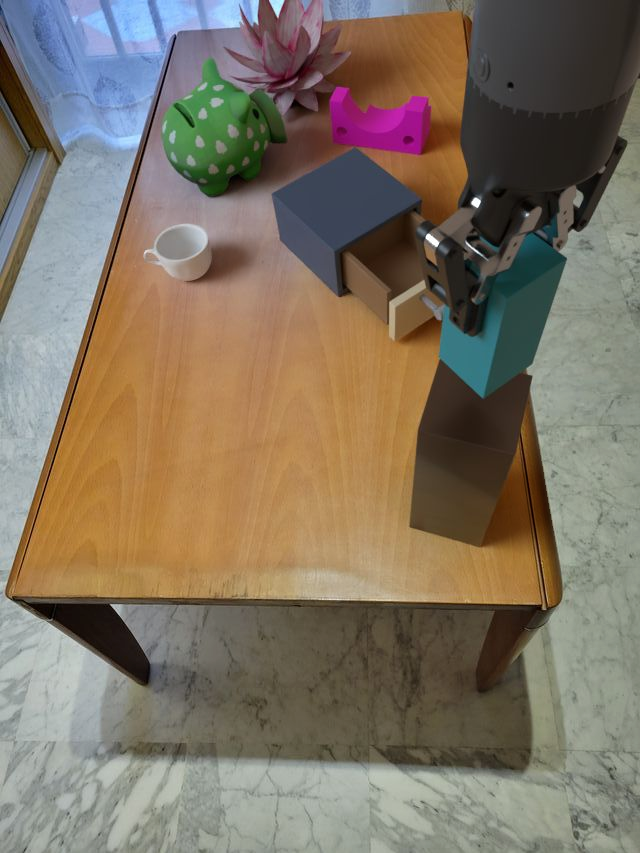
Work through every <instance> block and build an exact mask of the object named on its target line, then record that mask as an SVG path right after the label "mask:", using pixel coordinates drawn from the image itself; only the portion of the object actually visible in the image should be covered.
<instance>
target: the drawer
mask: <svg viewBox="0 0 640 853" xmlns="http://www.w3.org/2000/svg"><path fill="white" fill-rule="evenodd" d="M426 220H427V219H424V217H422V215H421V216H420V215H418V214H417V213H416V212H415V211H413V210H411V211H409V212H407V213H406V214H404V215H402V216H401V217H399V218H397V219H396V220H394V221H392V222H391V223H389V224H387V225H386V226H384V227H382V228H381V229H379V230H377V231H376V232H374V233H372V234H371V235H369V236H367V237H366V238H364V239H362V240H361V241H359V242H357V243H356V244H354V245H352V246H351V247H349V248H347V249H346V250H344V251H342V252H341V253H340V262H341V273H342V283H343V284H344V285H345V286H346V287H347V288H348V289H350V290H349V291H350V292H352V293H353V295H355V296H356V297H357V298H358V299H359V300H360V301H361V302H362V303H363V304H364V305H365V306H366V307H367V309H369V310H370V311H371V312H372V313H373V314H375V315H376V317H378V319H380V320H381V322H383V323H384V324H385V325H386V326H388V337H389V338H390V339H391V340H392V341H393V342H394V343H395V342H397V341H399V340H401V339H402V338H403V337H405V336H406V335H407V334H409V333H411V332H413V331H414V330H415V329H417V328H418V327H419V326H421V325H423V324H424V323H426V322H427V321H429V320H430V319H432V318H434V317H435V319H436V320H437V321H443V313H444V303H443V302H442V301H441V300H439V299H438V298H437V297H436V296H435V295H434V294H433V293H431V292H430V291H429V290H428V289H427V288H426V285H425V280H424V276H423V272H422V267H421V263H420V258H419V254H418V250H417V245H416V241H415V231H416V229H417V228H418V226H419V225H420V224H421V223H422V222H424V221H426Z"/></svg>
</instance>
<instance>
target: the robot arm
mask: <svg viewBox="0 0 640 853" xmlns="http://www.w3.org/2000/svg"><path fill="white" fill-rule="evenodd" d="M472 14H473V15H472V22H471V32H470V41H469V51H468V60H467V67H466V75H465V76H466V77H465V85H464V86H465V87H464V97H463V104H462V105H463V106H462V114H461V124H460V131H459V132H460V134H459V144H460V149H461V153H462V156H463V161H464V163H465V167H466V171H467V179H466V181H465V184H464V187H463V189H462V191H461V193H460V195H459V198H458V201H457V211H455V212H454V213H452V214H451V216H448V218H447V219H446V220H445V221H443V222H441V223H440V224H439V225H437V224H435V223H434V222H433V221H432V220H431V219H425V220H426V221H424V222H422V223H421V224H420V225H419V226H418V228H417V229H416V231H415V241H416V245H417V250H418V254H419V258H420V263H421V267H422V272H423V276H424V280H425V285H426V288H427V289H428V290H429V291H430V292H431V293H433V294H434V295H435V296H436V297H437V298H438V299H439V300H441V301H442V302H443V303H444V304H445V305H446V306H447V307H449V308H450V313H449V320H450V322H451V323H453V324H454V325H455V326H456V327H457V328H458V329H459V330H460V331H462V332H463V333H464V334H466V333H467V334H468V335H469V336H470V337H474V336H476V335H477V334H479V333H480V332H482V328H483V323H484V318H485V313H486V308H487V303H488V298H489V297H488V295H489V293H490V291H491V288H492V286H493V284H494V282H495V280H496V278H497V276H498V274H499V273H502V272H505V271H508V270H509V268H510V267H511V265H512V263H513V261H514V258H515V256H516V254H517V252H518V250H519V248H520V246H521V244H522V242H523V240H524V238H525V237H526V236H527V235H529V234H531V233H533V234H535V235H536V236H537V237H539V238H540V239H542V240H543V241H544V242H546V243H547V244H548V245H550V246H551V247H553V248H554V249H555V250H557V251H558V252H559V253H560V251H561V250H563V248H565V246H566V244H567V243H568V241H569V234H570V232H571V231H572V230H573V231H575V232H576V233H581V232H582V231H583V230H584V229H585V228H586V227H588V225H589V223H590V221H591V220H592V217H593V216H594V213H595V211H596V210H597V207H598V205H599V204H600V202H601V199H602V197H603V196H604V193H605V191H606V189H607V187H608V185H609V183H610V182H611V179H612V178H613V175H614V173H615V172H616V170H617V167H618V165H619V163H620V161H621V159H622V157H623V155H624V153H625V152H626V148H627V146H628V140H627V139H626V138H623V137H622V136H620V135H619V133H620V130H621V128H622V124H623V122H624V118H625V117H626V113H627V110H628V107H629V104H630V101H631V99H632V96H633V93H634V91H635V90H634V89H635V87H636V84H637V81H638V79H639V76H640V0H475V1H474V7H473V13H472ZM577 191H579V192H580V193H581V195H582V200H581V202H580V205H579V206H577V205H576V204H574V200H575V199H576V198H577ZM480 236H481V237H482V238H483V239H485V240H486V241H487V242H489V243H490V244H491V245H492V246H495V247H498V248H499V249H498V252H496V251H495V250H494V249H492V248H491V247H490V246H489V245H487V244H486V243H485V242H483V241H482V240H481V238H480ZM473 262H474V263H475V264H476V265H477V266H479V268H480V274H479V276H478V279H477V278H476V277H475V276H473V275H472V274H471V273H470V272H469V269H470V267H471V265H472V263H473Z"/></svg>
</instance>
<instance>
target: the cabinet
mask: <svg viewBox="0 0 640 853" xmlns="http://www.w3.org/2000/svg"><path fill="white" fill-rule="evenodd" d="M271 198H272V203H273V204H272V205H273V209H274V214H275V220H276V225H277V229H278V230H277V231H278V235H279V240H280V242H281V243H282V244H283V245H284V246H285V247H286V248H287V249H289V251H290V252H291V253H293V255H294V256H296V257H297V259H299V260H300V261H301V262H302V263H303V264H304V265H305V266H306V267H307V268H308V269H309V270H310V271H311V272H312V273H313V274H314V275H315V276H316V277H317V278H318V279H319V280H320V281H321V282H322V283H323V284H324V285H325V286H326V287H327V288H328V289H329V290H330V291H331V292H332V293H333V294H335V295H336V296H337V297H338V298H340V297H342V296H343V295H344V294H347V293H348V292H350V291H351V290H350V289H348V288H347V287H346V286H345V285H344V284H343V283H342V273H341V262H340V253H341V252H342V251H344V250H346V249H347V248H349V247H351V246H352V245H354V244H356V243H357V242H359V241H361V240H362V239H364V238H366V237H367V236H369V235H371V234H372V233H374V232H376V231H377V230H379V229H381V228H382V227H384V226H386V225H387V224H389V223H391V222H392V221H394V220H396V219H397V218H399V217H401V216H402V215H404V214H406V213H407V212H409V211H411V210H413V211H415V212H416V213H417V214H418V215H420V216H421V217H422V208H423V207H422V206H423V199H422V198H421V196H419V195H418V194H416V192H414V191H412V190H411V189H410V188H409V187H407V186H406V185H405V184H404V183H403V182H401V181H400V180H399V179H397V178H396V177H395V176H394V175H392V174H391V173H389V171H387V170H386V169H385V168H383V167H382V166H380V165H379V164H378V163H377V162H376V161H374V160H373V159H372V158H370V157H369V156H368V155H367V154H366V153H364V152H362V150H361V149H359V148H358V147H357V146H354V147H352V148H350V149H349V150H347V151H345V152H344V153H342V154H340V155H338V156H336V157H334V158H332V159H331V160H329V161H327V162H326V163H324V164H322V165H320V166H318V167H316V168H314V169H312V170H311V171H309V172H307V173H305V174H304V175H302V176H300V177H298V178H296V179H295V180H293V181H291V182H289V183H288V184H285V185H284V186H282V187H280V188H278V189H277V190H275V191H273V192H271Z"/></svg>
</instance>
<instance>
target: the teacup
mask: <svg viewBox="0 0 640 853" xmlns="http://www.w3.org/2000/svg"><path fill="white" fill-rule="evenodd" d="M148 254H151V255H153V256H155V257H156V258H157V260H156V259H151V258H149V257H148ZM212 256H213V252H212V246H211V242H210V238H209V234H208V232H207V231H206V230H205V228H203V227H202V226H200V225H199V224H194V223H180V224H179V223H178V224H175V225H172V226H169V227H167V228H165V229H164V230H163V231H161V232H160V233H159V235H158V236H157V237H156V239H155V240H154V243H153V248H148V249H146V250H144V252H143V258H144V260H145V261H146V262H147V263H149V264H153V265H156V266H160V267H162V268H163V269H164V271H165V272H166V273H167V274H168V275H169V276H170V277H172V278H173V279H176V280H179V281H182V282H192V281H195V280H198V279H200V278H201V277H203V276H204V275H205V274H206V273H207V272H208V270H209V269H210V267H211V265H212V260H213V258H212Z"/></svg>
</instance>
